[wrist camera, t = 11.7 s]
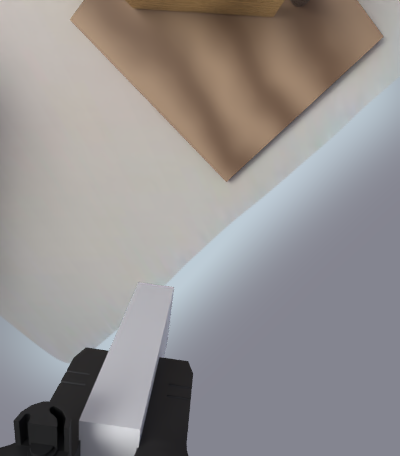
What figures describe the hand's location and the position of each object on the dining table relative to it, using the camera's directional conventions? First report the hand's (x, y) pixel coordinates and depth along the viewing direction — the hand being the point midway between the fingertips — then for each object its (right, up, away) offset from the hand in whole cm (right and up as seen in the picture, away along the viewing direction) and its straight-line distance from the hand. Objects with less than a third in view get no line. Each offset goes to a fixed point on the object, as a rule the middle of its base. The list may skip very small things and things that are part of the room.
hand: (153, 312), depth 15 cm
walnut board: (+4, +23, +19) cm, 30 cm away
